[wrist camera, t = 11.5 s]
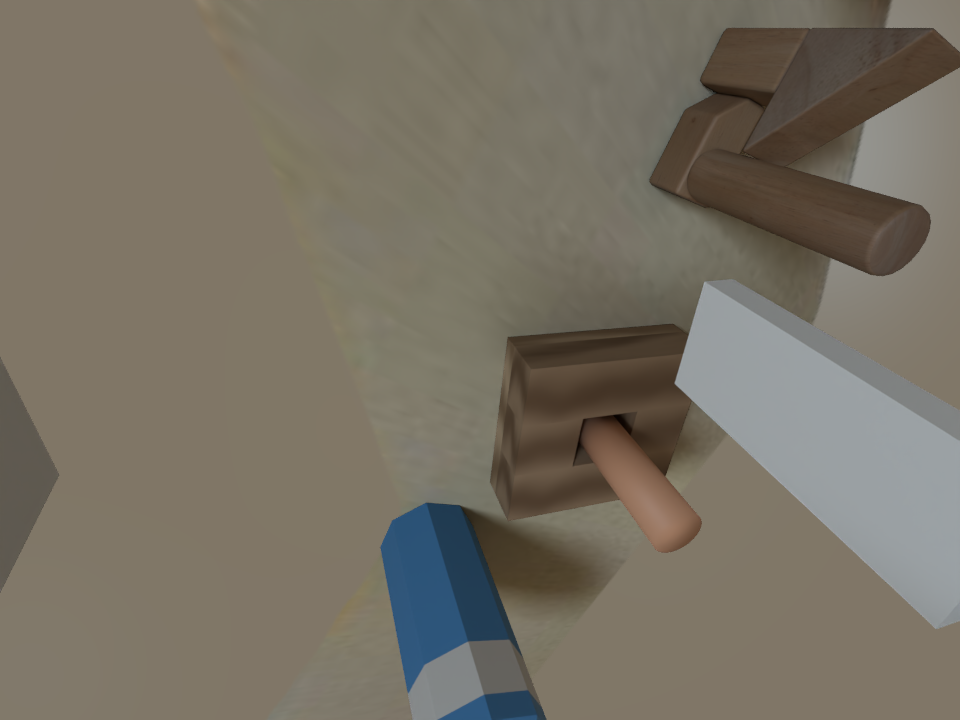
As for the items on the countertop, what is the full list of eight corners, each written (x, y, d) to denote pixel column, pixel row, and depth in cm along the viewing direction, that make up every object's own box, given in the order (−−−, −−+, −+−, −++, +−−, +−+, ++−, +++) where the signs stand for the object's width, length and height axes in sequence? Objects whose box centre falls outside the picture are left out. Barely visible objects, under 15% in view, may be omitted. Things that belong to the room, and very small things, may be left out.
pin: (570, 400, 47) (661, 519, 36) (608, 396, 48) (708, 509, 37) (563, 434, 49) (648, 557, 38) (599, 429, 50) (692, 546, 39)
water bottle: (425, 488, 49) (525, 809, 29) (490, 521, 54) (613, 813, 34) (360, 551, 51) (411, 897, 31) (429, 578, 56) (511, 888, 36)
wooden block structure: (759, 48, 37) (1066, 63, 23) (680, 197, 41) (895, 289, 27) (723, 24, 35) (1029, 24, 21) (645, 181, 40) (854, 271, 25)
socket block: (507, 337, 43) (531, 369, 39) (673, 323, 48) (708, 351, 44) (490, 482, 51) (507, 521, 47) (632, 458, 56) (659, 491, 52)
